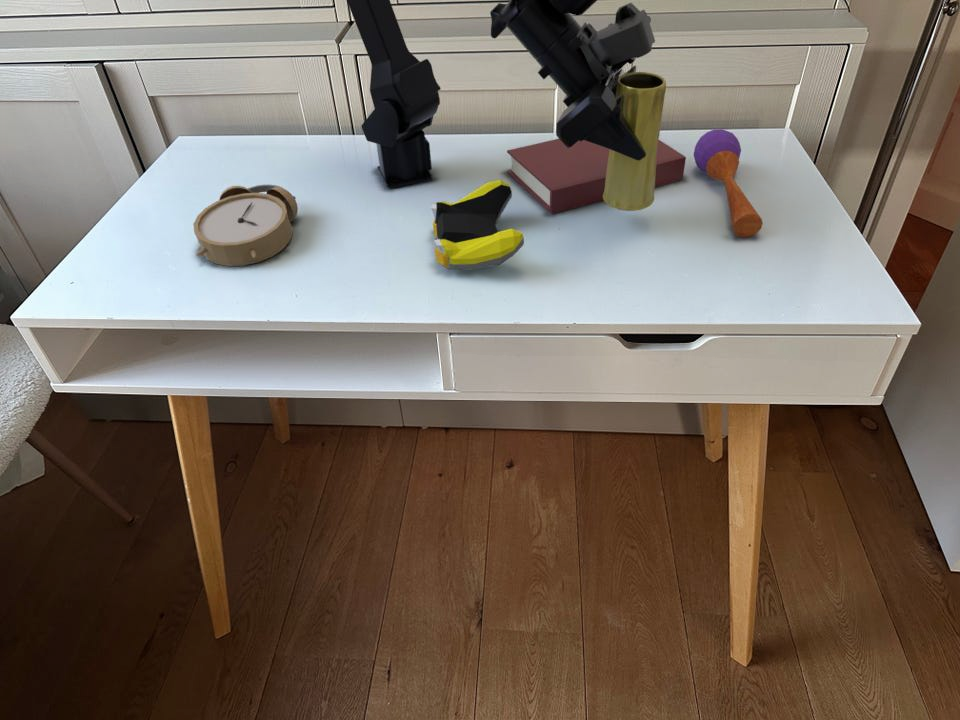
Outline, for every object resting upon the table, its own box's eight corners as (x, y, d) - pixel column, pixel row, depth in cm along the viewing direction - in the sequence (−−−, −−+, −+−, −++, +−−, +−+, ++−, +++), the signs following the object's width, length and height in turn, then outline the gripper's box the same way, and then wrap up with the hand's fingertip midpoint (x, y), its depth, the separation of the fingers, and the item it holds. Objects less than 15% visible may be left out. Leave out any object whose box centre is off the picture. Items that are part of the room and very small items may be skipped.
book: (551, 214, 92) (552, 190, 90) (507, 172, 101) (506, 150, 99) (682, 179, 97) (686, 157, 95) (629, 143, 107) (631, 121, 104)
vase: (642, 216, 84) (657, 94, 74) (594, 204, 86) (603, 84, 77) (661, 194, 88) (678, 75, 78) (614, 183, 90) (626, 66, 81)
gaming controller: (510, 213, 92) (432, 220, 92) (509, 174, 89) (428, 180, 88) (526, 279, 81) (437, 287, 80) (526, 237, 77) (433, 244, 77)
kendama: (721, 209, 83) (689, 126, 97) (721, 250, 87) (690, 164, 101) (775, 200, 82) (735, 117, 96) (773, 241, 86) (734, 156, 100)
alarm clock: (176, 245, 84) (222, 167, 93) (192, 275, 88) (235, 197, 97) (266, 249, 82) (305, 169, 92) (279, 280, 86) (314, 200, 96)
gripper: (595, 11, 66) (699, 138, 70) (626, -38, 79) (712, 71, 84) (512, 90, 73) (611, 200, 77) (554, 33, 86) (636, 130, 91)
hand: (646, 147), depth 82 cm, fingers closed on vase, 5 cm apart
